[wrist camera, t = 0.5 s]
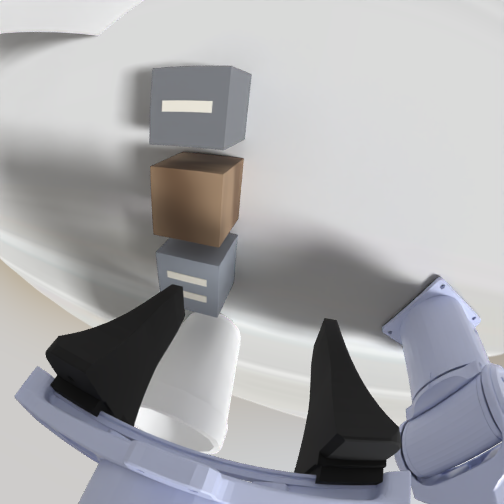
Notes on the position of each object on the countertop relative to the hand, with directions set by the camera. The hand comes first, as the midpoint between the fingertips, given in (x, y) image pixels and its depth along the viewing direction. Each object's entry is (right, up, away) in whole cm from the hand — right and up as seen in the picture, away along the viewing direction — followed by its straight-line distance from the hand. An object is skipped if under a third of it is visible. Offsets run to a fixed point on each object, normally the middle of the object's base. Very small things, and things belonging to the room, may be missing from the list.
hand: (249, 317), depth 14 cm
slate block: (-4, +3, +12) cm, 13 cm away
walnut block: (-3, +9, +8) cm, 12 cm away
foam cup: (-4, -5, +17) cm, 18 cm away
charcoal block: (-3, +14, +5) cm, 15 cm away
